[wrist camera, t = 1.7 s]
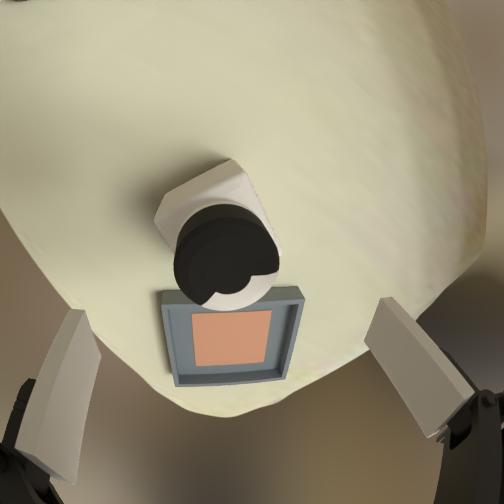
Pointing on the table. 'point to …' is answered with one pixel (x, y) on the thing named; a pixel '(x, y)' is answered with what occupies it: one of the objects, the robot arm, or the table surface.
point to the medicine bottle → (220, 239)
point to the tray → (231, 338)
